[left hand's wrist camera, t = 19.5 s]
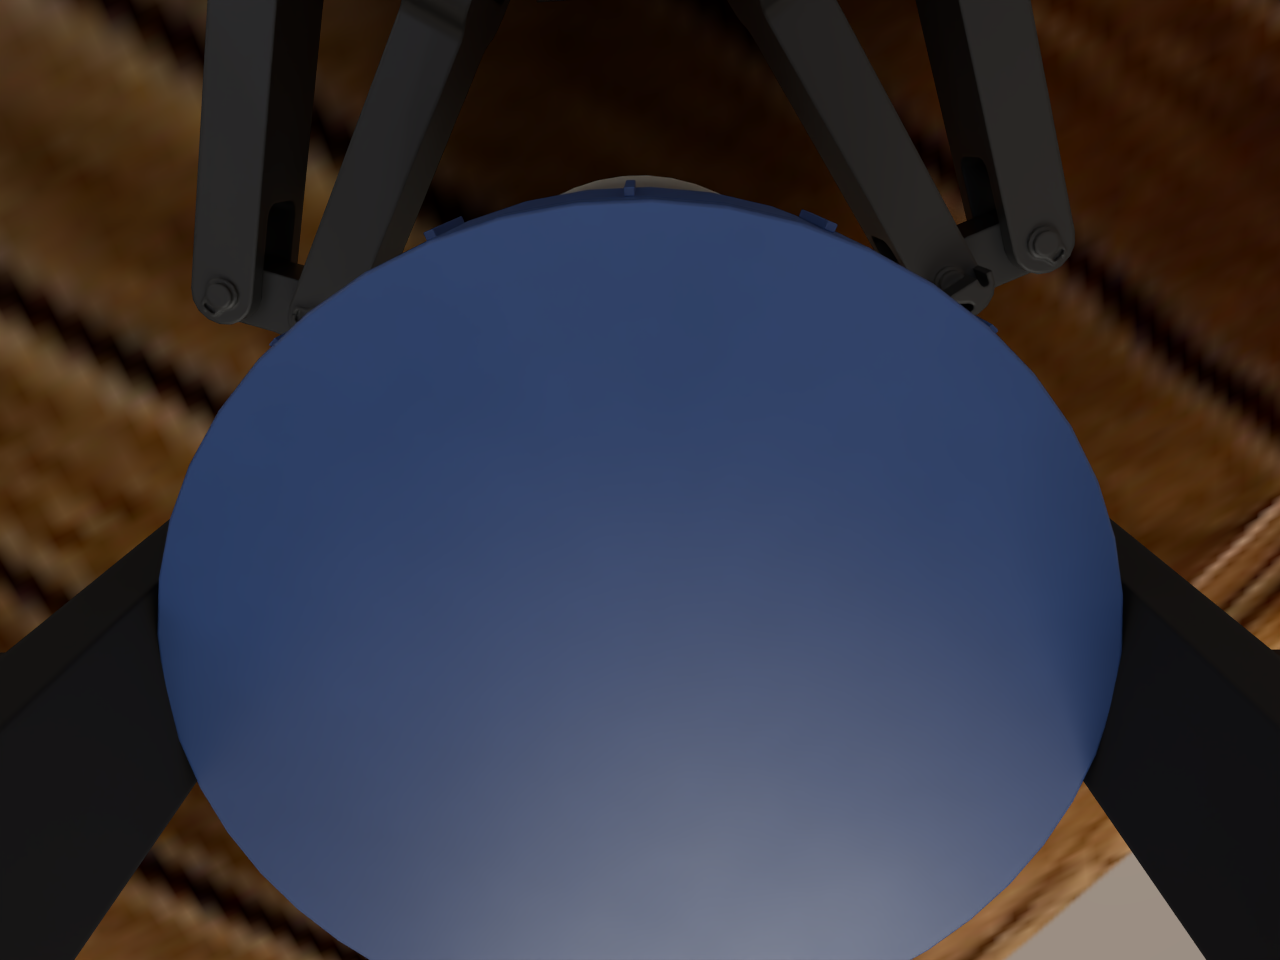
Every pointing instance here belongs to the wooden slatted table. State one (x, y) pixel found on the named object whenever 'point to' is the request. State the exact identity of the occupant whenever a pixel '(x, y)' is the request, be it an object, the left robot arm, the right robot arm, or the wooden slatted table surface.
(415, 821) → the lid
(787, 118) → the wooden slatted table surface
